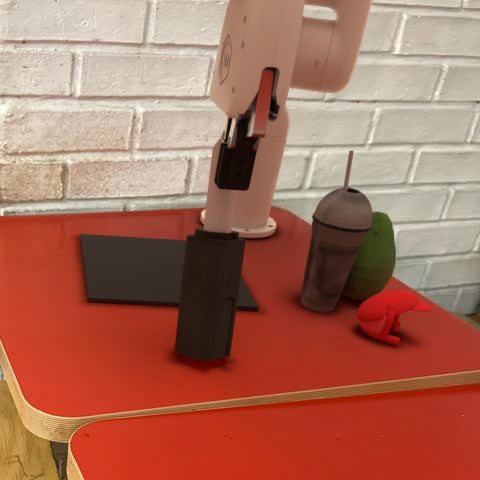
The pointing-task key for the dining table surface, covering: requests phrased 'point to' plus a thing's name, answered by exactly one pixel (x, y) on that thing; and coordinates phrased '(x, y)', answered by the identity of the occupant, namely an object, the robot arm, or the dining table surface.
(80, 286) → the dining table surface
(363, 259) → the fruit
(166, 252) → the mat
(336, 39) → the robot arm
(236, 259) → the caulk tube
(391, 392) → the dining table surface
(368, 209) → the beverage cup
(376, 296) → the red animal figurine
